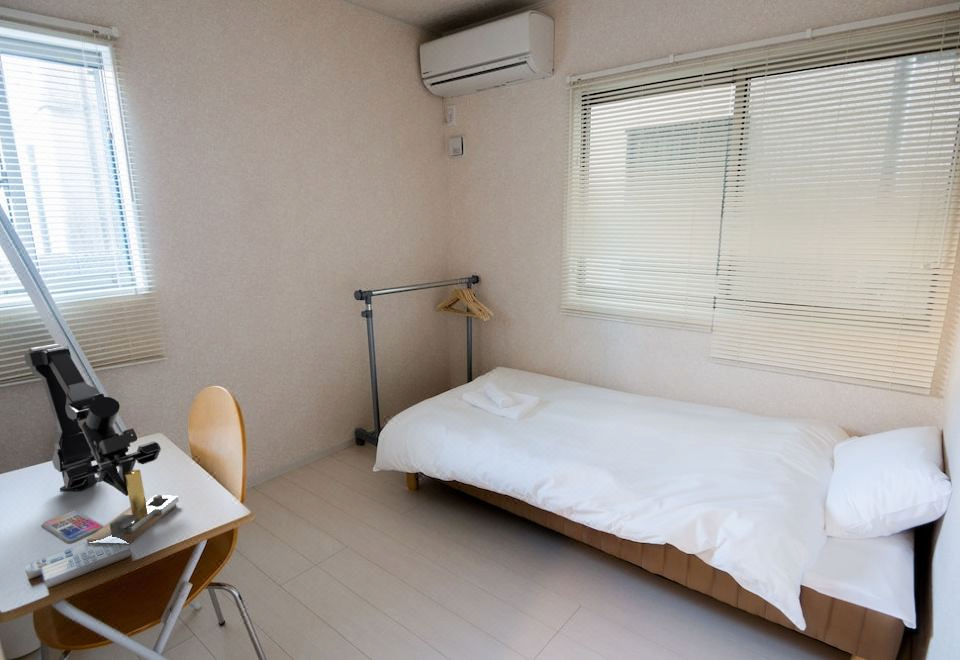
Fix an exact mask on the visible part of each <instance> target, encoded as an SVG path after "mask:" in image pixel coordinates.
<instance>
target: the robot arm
mask: <svg viewBox="0 0 960 660" xmlns="http://www.w3.org/2000/svg"><path fill="white" fill-rule="evenodd" d="M24 361H25V364H26V366H27V367H29V368H30V371H31V373H32V374H33V375H34V376H36V377H37V378H39V380H42V382H43V387H44V389H45V393H46V396H47V398H48V403H49V405H50V408H51V412H52V414H53V419H54V421H55V424H56V425H55V426H56V428H57V432H58V434H57V437H56V439H55V441H54V448H55V450H54V451H53V456H52V465H53V468H54V469H55V470H57V471H58V472H59V473H61V475H62V479H63V484H64V485H63V486H61V487H60V488H59V490H60V491H78V492H79V491H83V490H85V489H87V488H88V487H89V486H91V485H93V484H95V483H96V482H98V483H102V482H104V483H105V484H108V485H110V486H111V487H113V488H115V489H116V490H117V491H119V492H121V494H123V495H125V496H126V497H127V496H128V497H129V495H128V489H127V484H126V479H125V473H127V472H128V471H131V470H134V467H135V465H136V463H138V464H140V465H145V464H149V463H152V462H154V461H156V460H157V459H158V456H159V455H160V453H161V450H162V448H161V446H160V444H159V443H158V442H156V441H150V442H146V443H144V444H141V445H138V447H137V451H135V452H132V453H128V452H129V448H130V447H131V444H132V443H135V442H136V441H138V437H137V434H136V432H135V430H134V428H133V427H132V428H129V429H125V430H123V431H122V434H119V433H118V432H116V430H115V428H114V426H113V425H114V424H116V420H117V417H118V414H119V412H120V411H119V410H120V409H121V408H120V406H121V405H120V402H119V401H118V400H117V399H115V398H113V397H112V396H111V397H110V396H105V395H104V393H103V392H100V391H99V389H98V387H95V386H93V385H90V384H88V383H87V382H86V380H85V378H84V377H83V375H82V374H81V372H80V370H79V369H78V367H77V365H76V364H75V362H74V361H73V359H72V354H71V351H70V348H69V346H68V345H66V346H61V345H60V344H59V343H54V344H49V345H42V346H35V347H30V348H28V352H26V353H24ZM81 421H84V422H83V423H82V425H81V427H80V424H79V422H81ZM128 447H129V448H128ZM126 453H128V454H126ZM92 462H96V464H94V465H93V464H92Z"/></svg>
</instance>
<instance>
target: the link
mask: <svg viewBox="0 0 960 660" xmlns="http://www.w3.org/2000/svg"><path fill="white" fill-rule="evenodd" d="M142 478H143V477H142V473H141V470H140V469H133V470H131V471H128V472H127V473H125V479H126V484H127V489H128V499H129V504H130V505H129V506H130V507H131V511H132V515H136V520H134V521H133V522H132V523H130V524H129V525H128V526H127V527H125V528H123V530H124V533H133V532H134V531H136V530H137V529H138V528H139V527H141V526H142V525H143V524H144V523H146V522H147V521H148V520H149V519H151V518H152V517H153V516H154V515H163V514H164V513H165V512H166V511H168V510H169V509H170V508H171V507H172V506H174V505H175V504H176V505H177V504H178V503H179V497H178V495H162V498H163V504H162V505H161V506H154V504H153V497H155V496H157V494H156V495H154V496H153V497H151V498H150V499H148V500H146V496H145V490H144V489H145V488H144V483H143V479H142ZM146 501H147V502H146Z"/></svg>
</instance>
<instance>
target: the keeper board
mask: <svg viewBox="0 0 960 660" xmlns="http://www.w3.org/2000/svg"><path fill="white" fill-rule="evenodd" d="M156 495H157V494H156ZM154 496H155V495H154ZM154 496H153V497H152V498H153V504H154V506H161V505H162V504H163V498H162V496H163V495H160V494H159V495H157V496H155V497H154ZM147 501H148V500H146V502H147ZM176 506H177V503H176V504H175V505H174V506H172V507H171V508H170V509H169V510H168V511H166V512H165V513H164V514H163V515H154V516H153V517H152V518H151V519H149V520H148V521H147V522H146V523H144V524H143V525H142V526H141V527H139V528H138V529H137V530H136V531H134V532H133V533H124V530H123V528H125V527H127V526H128V525H129V524H130V523H132V522H133V521H134V520H136V515H132V511H131V506H129V507H128V508H126V509H125V510H124V511H123V512H121V513H120V514H119V515H117V516H116V517H114V518H113V519H112V520H111V521H109V522H108V523H106V524H105V525H103V526H104V527H102V528H101V529H100V530H98V531H97V532H95V533H93V534H91V535H89V537H88V538H86V542H87V544H90V543H89V542H93V541H96V540H101V539H104V538H106V537H108V536H111V535H112V537H117V538H120V539H122V540H124V541H126V542H127V543H129V544H128V545H130V544H132V543H133V542H134V541H135V540H136V539H138V538H139V537H140V536H141V535H143V534H145V532H147V530H149V529H150V528H152V527H153V525H155V524H156V523H157V522H158V521H159V520H160V519H162V518H163V517H164V516H165V515H167V514H168V513H169V512H170V511H172V509H174V508H175V507H176Z"/></svg>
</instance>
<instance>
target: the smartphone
mask: <svg viewBox="0 0 960 660" xmlns="http://www.w3.org/2000/svg"><path fill="white" fill-rule="evenodd" d="M104 526H105V525H103V524H101V523H100V522H98V521H96V520H94V519H92V518H90V517H89V516H87V515H85V514H83V513H82V512H79V511H78V510H72V511H68V512H66V513H64V514H61V515H59V516H56V517H54V518H51V519H49V520H46V521H44V522H43V523H41V527H42V528H43V529H45V530H46V531H48V532H50V533H52V534H53V535H55V536H56V537H58V538H59V539H60V540H62V541H64V542H66V543H67V544H72V543H75V542H78V541H81V540H82V539H85V538H87V537H88V536H89V537H90V536H92V535H93V534H94V533H96V532H97V531H98V530H100V529H101V528H102V527H104Z"/></svg>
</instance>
